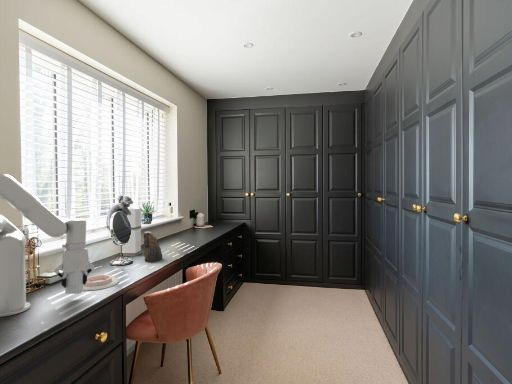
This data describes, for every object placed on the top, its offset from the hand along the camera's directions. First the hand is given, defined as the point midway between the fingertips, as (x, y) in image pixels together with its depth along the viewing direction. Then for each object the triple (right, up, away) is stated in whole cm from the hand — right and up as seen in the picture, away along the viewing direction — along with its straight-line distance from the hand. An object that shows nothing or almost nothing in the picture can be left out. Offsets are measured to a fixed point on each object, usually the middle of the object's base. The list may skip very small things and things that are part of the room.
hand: (74, 285), depth 135 cm
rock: (+10, -6, +73) cm, 74 cm away
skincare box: (0, -4, 0) cm, 4 cm away
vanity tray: (-1, -6, +21) cm, 22 cm away
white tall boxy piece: (-13, -5, +92) cm, 93 cm away
